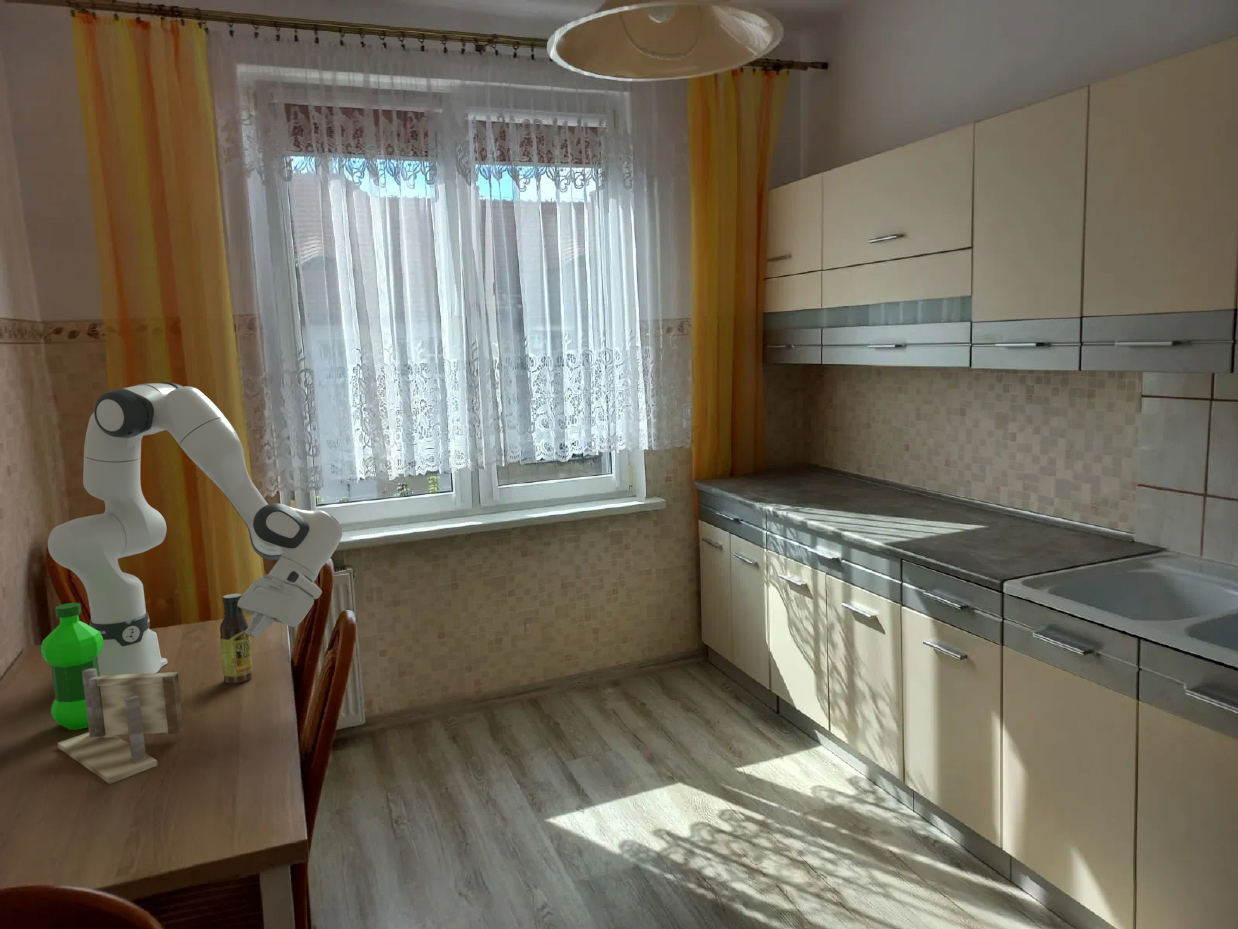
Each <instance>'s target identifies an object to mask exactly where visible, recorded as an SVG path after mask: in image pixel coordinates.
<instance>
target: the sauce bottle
mask: <svg viewBox="0 0 1238 929" xmlns="http://www.w3.org/2000/svg"><path fill="white" fill-rule="evenodd" d="M242 595H243V594H241V593H231V594H229V593H228V594H226V595H223V596H222V603H223V608H224V613H223V614H224V618H223V619H222V622H220V626H219V633H220V637H219V638H220V651H221V667H222V675H223V681H224V683H226V684H240V683H244V682H247V681H249V680H250V679H251V678H252V676H253V671H254V670H253V657H252V645H251V636H249V635H248V634H246V630H247V628H248V627H249V624H248V622H247V619H246V617H245V615H244V613H243V611H244V610H242V609H241V608H240V607H238V601H239V599H240V598H241V596H242Z"/></svg>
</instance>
